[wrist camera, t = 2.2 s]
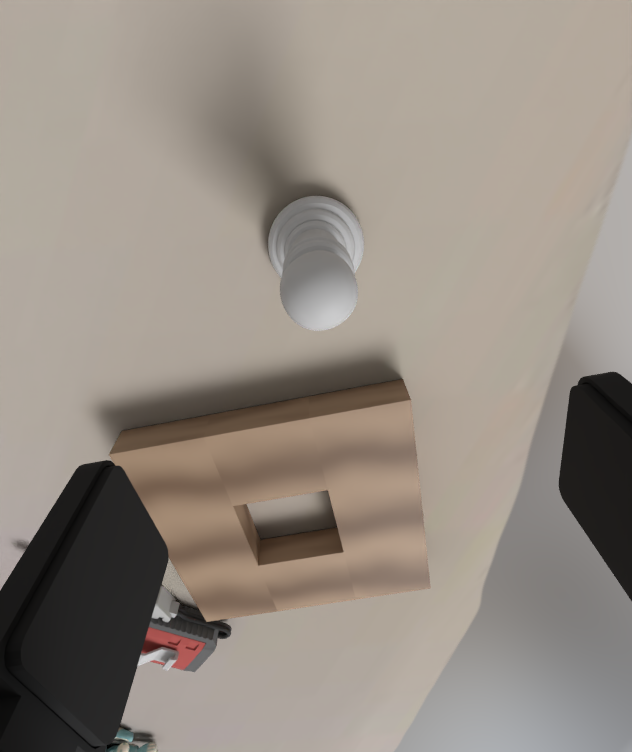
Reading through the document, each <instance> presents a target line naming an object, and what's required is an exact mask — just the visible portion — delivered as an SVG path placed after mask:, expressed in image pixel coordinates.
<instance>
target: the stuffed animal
mask: <svg viewBox="0 0 632 752" xmlns="http://www.w3.org/2000/svg"><path fill="white" fill-rule="evenodd" d="M120 739H121V740H125V741H128V742H132V740H133V733H132V732H129V731H127V730H125V729H123V728H121V727H119V730H118V732H117V735H116V737H115V739H114V740H120ZM105 752H158V750H157V745H156V743H155V742H151V743H147V744H145V745H143V746H142V747H140V748H139V747H138V746H137V745H135V744H128V743H127V742H124V743H121V744H120V745H115V746H112V747H110V748H108V749H107V748H106V750H105Z"/></svg>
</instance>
